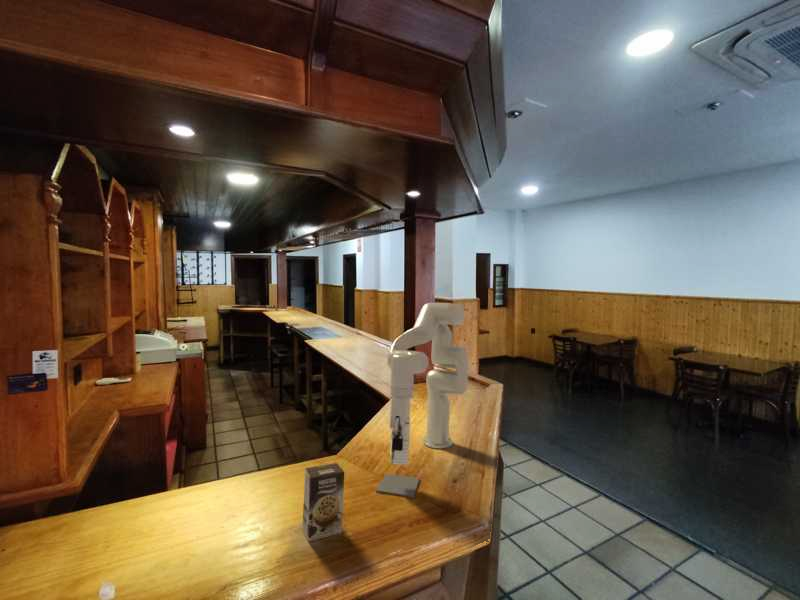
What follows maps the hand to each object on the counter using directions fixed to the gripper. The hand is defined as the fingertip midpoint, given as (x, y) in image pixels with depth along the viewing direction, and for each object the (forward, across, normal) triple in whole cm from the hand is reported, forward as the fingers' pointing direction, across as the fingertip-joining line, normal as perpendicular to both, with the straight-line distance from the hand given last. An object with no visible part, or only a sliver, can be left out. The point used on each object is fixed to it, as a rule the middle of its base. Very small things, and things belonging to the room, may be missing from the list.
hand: (399, 445), depth 124 cm
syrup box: (+5, 0, 0) cm, 5 cm away
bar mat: (+13, 0, 0) cm, 13 cm away
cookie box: (+14, +29, -14) cm, 35 cm away
